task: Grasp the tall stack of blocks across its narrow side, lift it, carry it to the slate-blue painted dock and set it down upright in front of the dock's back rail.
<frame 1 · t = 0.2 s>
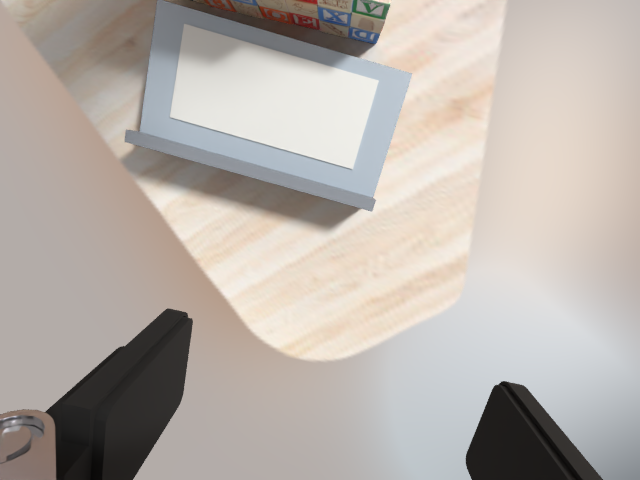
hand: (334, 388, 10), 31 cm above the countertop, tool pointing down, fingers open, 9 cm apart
dock: (274, 113, 37), on the countertop
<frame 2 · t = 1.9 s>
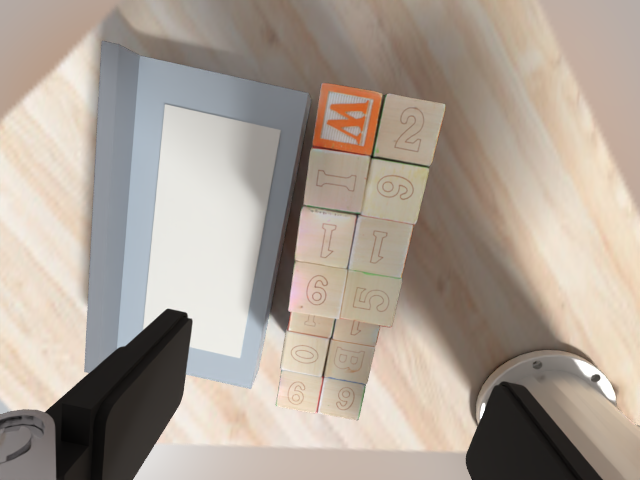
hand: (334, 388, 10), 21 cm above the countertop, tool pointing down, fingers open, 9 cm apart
stack of blocks: (341, 241, 31), on the countertop
dock: (208, 231, 31), on the countertop
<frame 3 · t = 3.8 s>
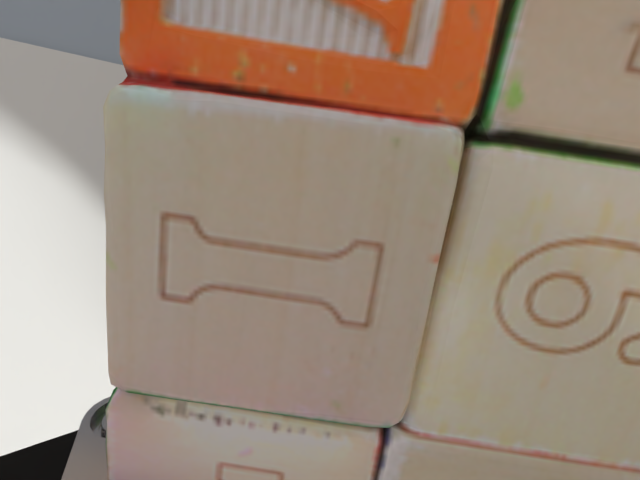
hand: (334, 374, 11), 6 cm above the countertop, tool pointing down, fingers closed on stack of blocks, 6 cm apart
stack of blocks: (332, 307, 17), on the countertop, touching gripper
dock: (90, 285, 17), on the countertop
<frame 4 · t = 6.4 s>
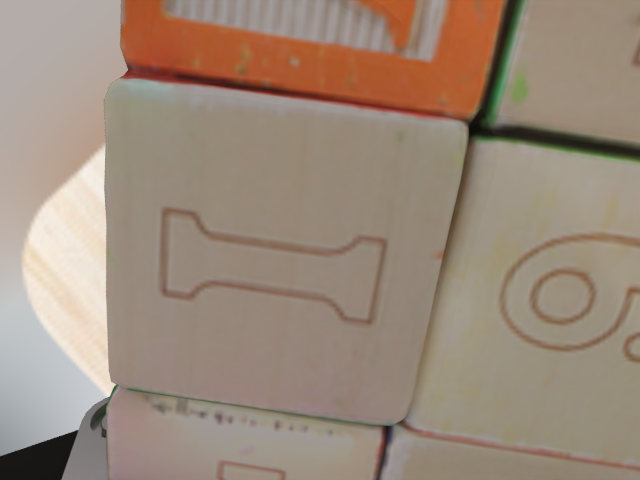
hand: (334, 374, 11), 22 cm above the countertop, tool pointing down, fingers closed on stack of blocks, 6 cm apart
stack of blocks: (332, 306, 17), point 16 cm above the countertop, touching gripper
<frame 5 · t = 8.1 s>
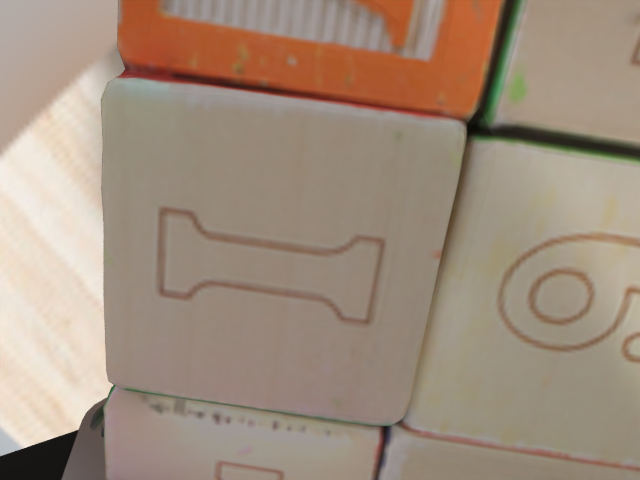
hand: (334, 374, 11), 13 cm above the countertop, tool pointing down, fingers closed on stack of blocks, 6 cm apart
stack of blocks: (332, 306, 17), point 7 cm above the countertop, touching gripper
when the fingers open (9 cm above the countertop, at t = 9.3 s): stack of blocks stays where it is, resting on dock.
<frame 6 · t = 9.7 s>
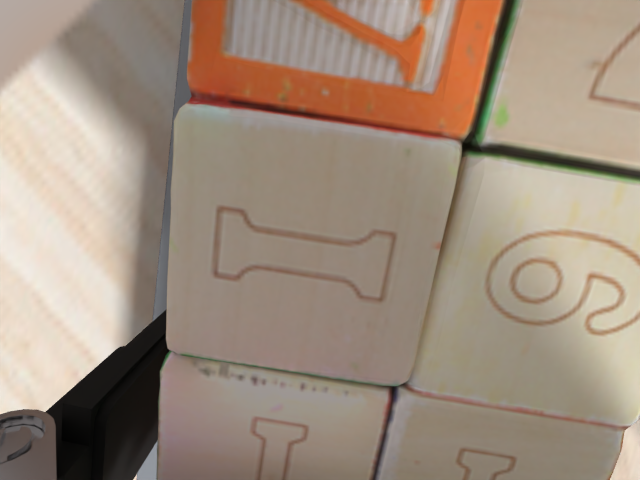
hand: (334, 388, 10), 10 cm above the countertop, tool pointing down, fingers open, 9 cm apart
stack of blocks: (335, 302, 17), point 3 cm above the countertop, touching dock
dock: (318, 269, 20), on the countertop
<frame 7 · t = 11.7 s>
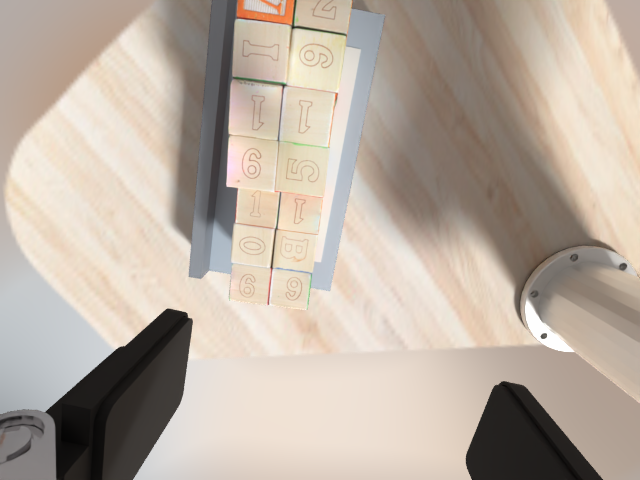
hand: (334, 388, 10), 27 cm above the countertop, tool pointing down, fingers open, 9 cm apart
stack of blocks: (294, 161, 32), point 3 cm above the countertop, touching dock
dock: (286, 153, 35), on the countertop
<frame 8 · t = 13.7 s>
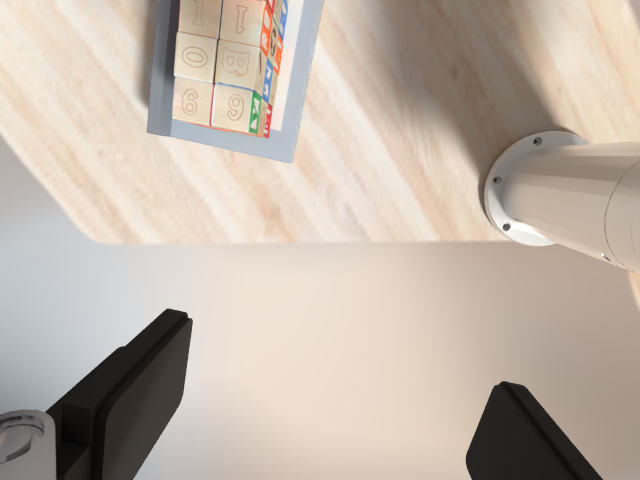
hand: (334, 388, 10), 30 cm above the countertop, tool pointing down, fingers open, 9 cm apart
stack of blocks: (255, 21, 32), point 3 cm above the countertop, touching dock
dock: (251, 23, 35), on the countertop
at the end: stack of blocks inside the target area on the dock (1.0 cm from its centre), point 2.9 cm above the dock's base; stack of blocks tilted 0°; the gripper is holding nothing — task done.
